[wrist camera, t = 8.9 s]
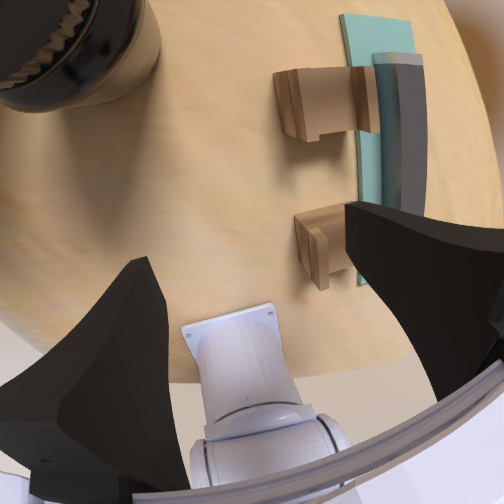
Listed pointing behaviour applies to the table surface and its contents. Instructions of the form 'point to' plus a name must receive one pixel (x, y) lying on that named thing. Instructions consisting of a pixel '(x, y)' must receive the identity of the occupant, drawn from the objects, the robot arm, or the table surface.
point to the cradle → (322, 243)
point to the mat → (360, 54)
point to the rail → (402, 130)
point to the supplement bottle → (74, 52)
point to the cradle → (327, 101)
